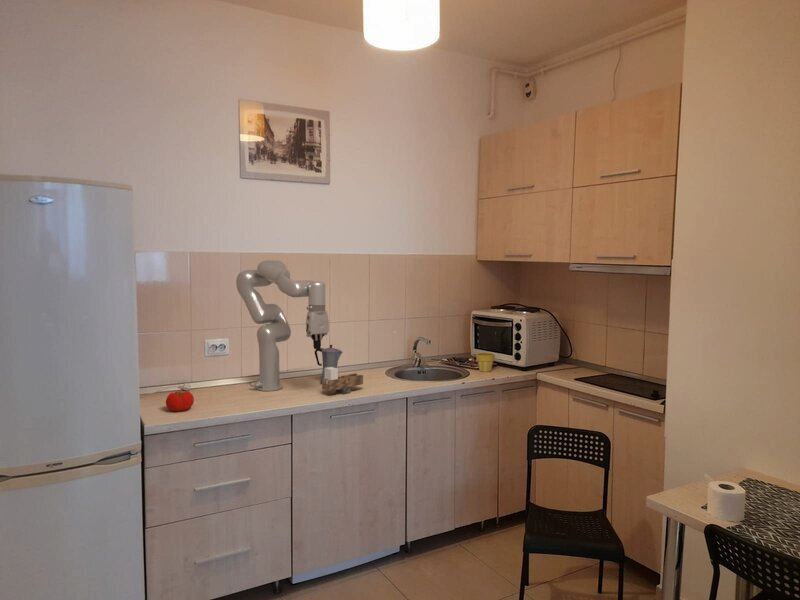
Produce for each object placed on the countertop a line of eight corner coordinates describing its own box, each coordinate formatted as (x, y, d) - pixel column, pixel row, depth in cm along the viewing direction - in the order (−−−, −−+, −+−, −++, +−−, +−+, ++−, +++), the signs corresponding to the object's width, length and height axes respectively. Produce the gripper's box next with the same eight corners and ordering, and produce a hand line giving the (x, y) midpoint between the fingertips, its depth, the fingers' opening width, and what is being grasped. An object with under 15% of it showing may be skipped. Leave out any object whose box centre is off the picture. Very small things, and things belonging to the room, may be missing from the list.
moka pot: (339, 386, 273) (339, 346, 271) (310, 384, 276) (310, 345, 274) (345, 381, 282) (345, 343, 281) (317, 380, 285) (317, 342, 284)
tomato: (196, 405, 235) (195, 388, 235) (190, 413, 224) (189, 395, 224) (170, 406, 234) (169, 389, 233) (162, 414, 223) (162, 396, 222)
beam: (329, 397, 251) (330, 381, 251) (321, 394, 256) (321, 379, 255) (363, 390, 265) (363, 375, 265) (355, 387, 270) (355, 373, 269)
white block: (330, 385, 252) (330, 369, 252) (324, 383, 256) (324, 367, 255) (337, 384, 255) (337, 368, 254) (331, 382, 259) (331, 366, 258)
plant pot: (484, 368, 321) (484, 351, 320) (498, 371, 313) (498, 354, 312) (472, 370, 314) (472, 353, 313) (485, 373, 306) (486, 356, 306)
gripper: (307, 310, 239) (308, 351, 241) (335, 308, 249) (335, 348, 251) (298, 309, 244) (298, 349, 246) (325, 307, 255) (325, 346, 256)
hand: (317, 348), depth 248 cm, fingers closed
